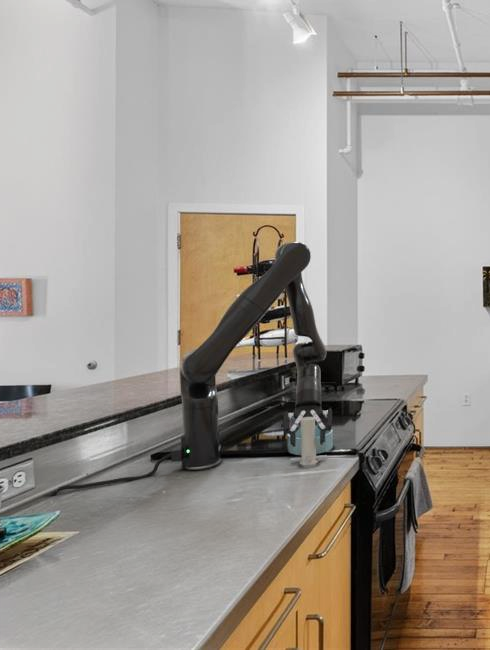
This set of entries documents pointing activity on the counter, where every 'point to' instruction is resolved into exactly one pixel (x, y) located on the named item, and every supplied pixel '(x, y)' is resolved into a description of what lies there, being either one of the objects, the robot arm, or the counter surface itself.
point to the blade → (308, 443)
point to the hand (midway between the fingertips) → (307, 444)
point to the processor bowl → (319, 448)
